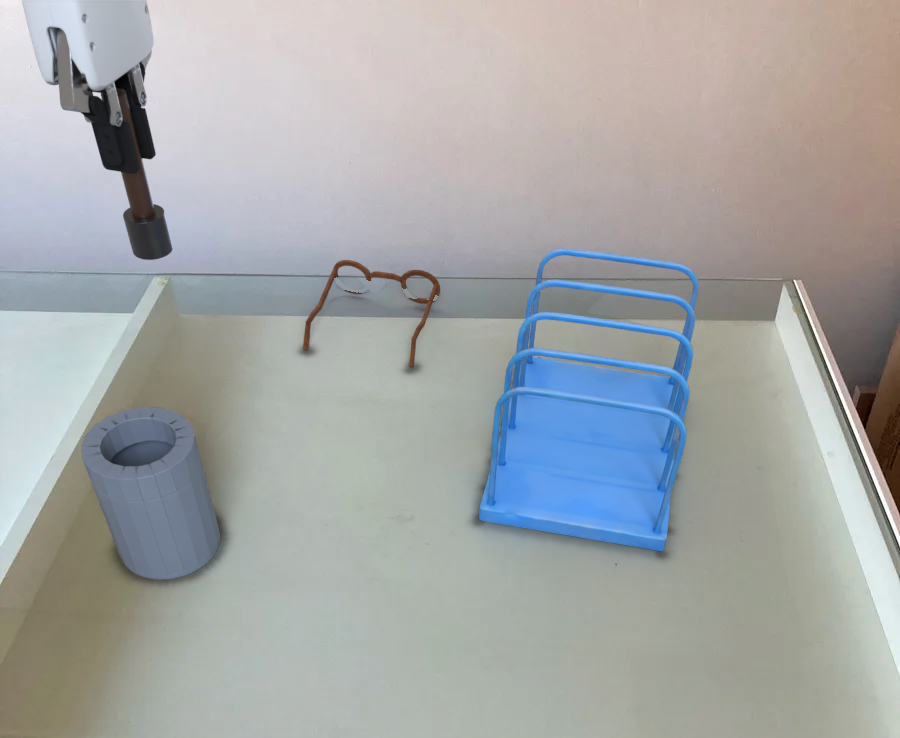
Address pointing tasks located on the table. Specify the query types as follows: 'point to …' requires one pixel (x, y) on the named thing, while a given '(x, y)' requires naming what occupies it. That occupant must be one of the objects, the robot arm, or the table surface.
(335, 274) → the glasses
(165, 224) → the brown and grey pestle
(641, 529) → the file sorter
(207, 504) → the pen holder
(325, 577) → the table surface
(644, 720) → the table surface
